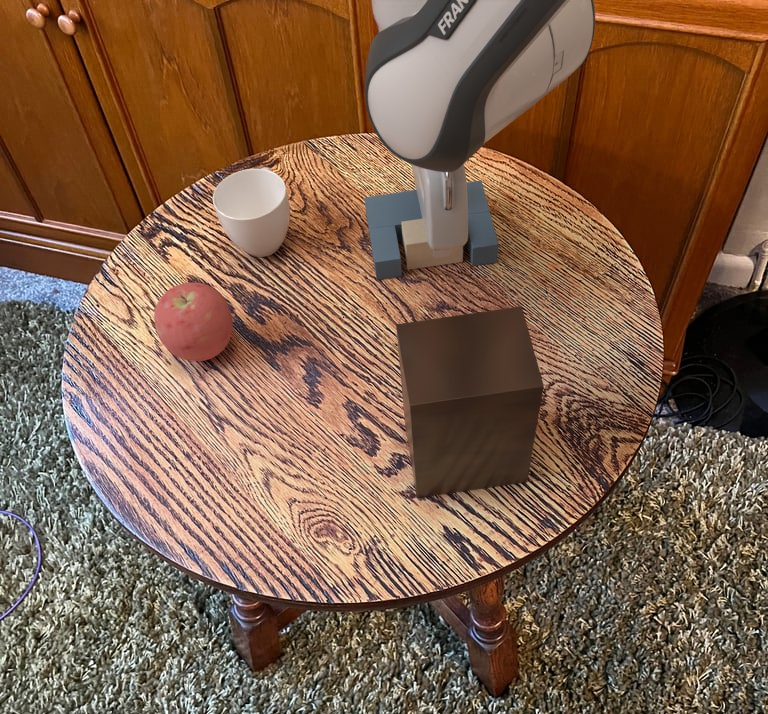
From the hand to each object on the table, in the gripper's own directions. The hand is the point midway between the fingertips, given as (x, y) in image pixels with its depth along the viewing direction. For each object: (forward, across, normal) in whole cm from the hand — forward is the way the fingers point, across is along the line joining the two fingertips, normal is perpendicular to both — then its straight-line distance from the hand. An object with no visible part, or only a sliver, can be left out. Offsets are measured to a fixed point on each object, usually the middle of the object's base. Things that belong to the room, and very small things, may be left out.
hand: (433, 219), depth 79 cm
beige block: (+5, 0, 0) cm, 5 cm away
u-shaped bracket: (+5, +2, 0) cm, 5 cm away
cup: (+5, +6, +18) cm, 20 cm away
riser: (+5, -26, +1) cm, 26 cm away
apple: (+5, -8, +25) cm, 27 cm away
